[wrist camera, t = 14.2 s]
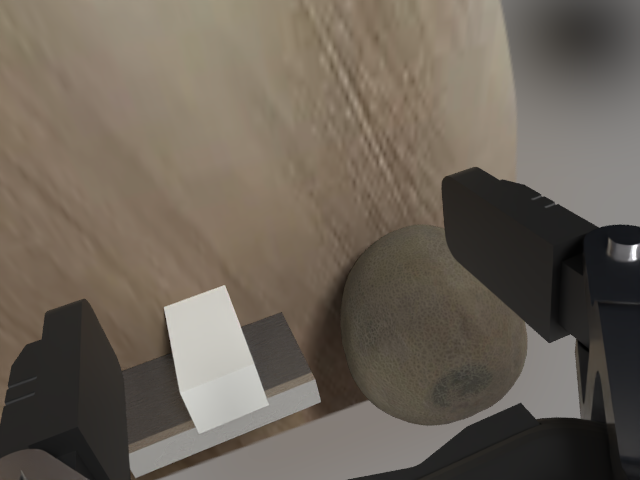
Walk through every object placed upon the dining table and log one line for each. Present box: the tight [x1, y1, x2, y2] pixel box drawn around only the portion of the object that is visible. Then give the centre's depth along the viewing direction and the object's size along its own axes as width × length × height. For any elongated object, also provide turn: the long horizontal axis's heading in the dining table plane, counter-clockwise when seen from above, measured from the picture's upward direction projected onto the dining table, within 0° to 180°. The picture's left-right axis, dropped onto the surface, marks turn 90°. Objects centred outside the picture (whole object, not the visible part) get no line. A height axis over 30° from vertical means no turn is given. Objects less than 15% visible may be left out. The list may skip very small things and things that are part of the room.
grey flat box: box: [122, 312, 321, 478], centre depth 44 cm, size 14×2×9 cm, turn 101°
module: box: [164, 285, 269, 434], centre depth 41 cm, size 5×4×10 cm
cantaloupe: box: [340, 225, 527, 425], centre depth 44 cm, size 14×14×15 cm
